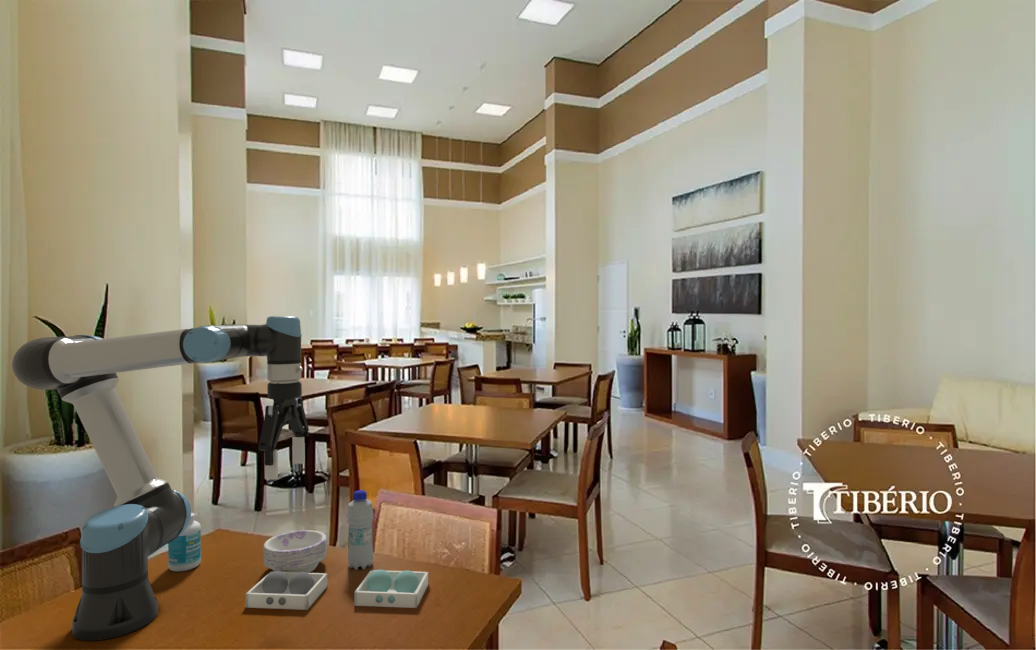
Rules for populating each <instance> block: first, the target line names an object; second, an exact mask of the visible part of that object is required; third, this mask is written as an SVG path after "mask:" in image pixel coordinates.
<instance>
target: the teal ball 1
mask: <svg viewBox="0 0 1036 650" xmlns="http://www.w3.org/2000/svg"><path fill="white" fill-rule="evenodd" d="M375 570H376V571H374V572H372V573H371V574H370V576H369V578H368V581H367V586H368V589H369V591H374V592H387V591H388V590H389V588H390V586H391V576H390V574H389V573H388V572H387V571H388V570H385V569H381V568H380V569H375Z"/></svg>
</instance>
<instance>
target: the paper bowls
mask: <svg viewBox="0 0 1036 650" xmlns="http://www.w3.org/2000/svg"><path fill="white" fill-rule="evenodd" d="M327 537H328V536H327V535H326V533H324V532H322V531H317V530H311V529H309V530H308V529H306V530H305V529H304V530H294V531H288V532H284V533H280V534H277V535H275V536H272V537H270V538H269V539H267V540H266V541H265V542H264V544H263V553H262V554H263V565H264V566H265V568H268V569H270V570H272V572H274V571H280V572H307V573H312V572H313V571H314V570H316V568H317V567H318V565H319V563H321V562H322V561H324V560H325V558H326V557H327V553H328V551H327V550H328V549H327V547H328V542H327V541H328V538H327Z"/></svg>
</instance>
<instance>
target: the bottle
mask: <svg viewBox="0 0 1036 650" xmlns="http://www.w3.org/2000/svg"><path fill="white" fill-rule="evenodd" d="M367 497H368V494H367V491H366V490H363V489H359V490H355V491H354V492H353V499H352V501H350V502H349V503H348V505H347V506H348V507H347V513H346V520H347V521H346V522H347V525H348V549H347V550H348V552H347V562H348V567H349V568H350V569H352V568H353V569H354V570H355V571H356V570H359V567H360V568H361V569H362V570H365V569H367V567H371V566H372V565H373V560H374V547H373V520H374V513H375V512H374V509H373V502H372V500H369V499H368V498H367Z"/></svg>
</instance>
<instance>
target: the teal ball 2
mask: <svg viewBox="0 0 1036 650" xmlns="http://www.w3.org/2000/svg"><path fill="white" fill-rule="evenodd" d="M401 571H402V572H400V573H399V574H398V575H397V576H396V578H395V582H394V587H395V590H396V592H403V593H414V592H415V591H416V589H417V587H418V578H417V576H416V574H415V573H414V572H412V571H411V570H408V569H407V570H401Z"/></svg>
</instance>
